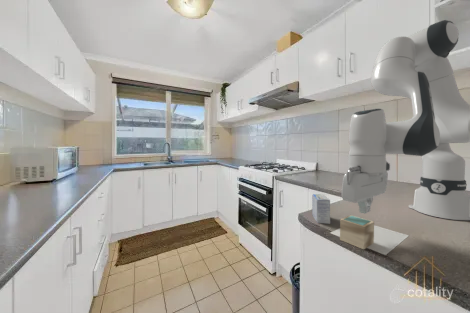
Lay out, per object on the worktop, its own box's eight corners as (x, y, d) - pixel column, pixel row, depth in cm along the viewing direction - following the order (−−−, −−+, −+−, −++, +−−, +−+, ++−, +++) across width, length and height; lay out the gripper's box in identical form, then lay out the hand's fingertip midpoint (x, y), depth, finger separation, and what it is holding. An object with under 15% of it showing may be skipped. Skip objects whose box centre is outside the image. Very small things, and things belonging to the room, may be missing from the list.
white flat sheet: (357, 220, 66) (357, 220, 66) (409, 236, 54) (409, 235, 54) (329, 233, 56) (329, 232, 56) (385, 255, 44) (385, 255, 44)
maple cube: (340, 218, 51) (340, 239, 52) (364, 226, 46) (363, 249, 47) (350, 214, 55) (350, 234, 55) (374, 221, 50) (373, 242, 50)
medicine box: (330, 224, 63) (330, 199, 62) (316, 223, 64) (317, 199, 63) (324, 216, 71) (324, 194, 70) (311, 215, 71) (312, 193, 71)
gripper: (361, 168, 44) (360, 224, 45) (392, 164, 55) (391, 208, 56) (335, 166, 50) (334, 216, 50) (368, 163, 61) (367, 203, 61)
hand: (364, 212), depth 53 cm, fingers closed
